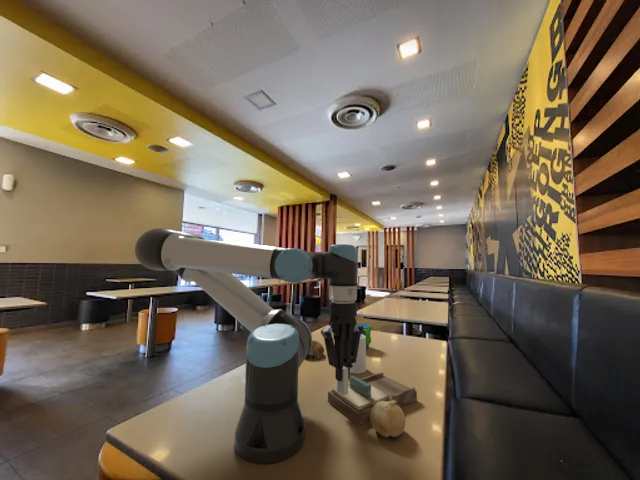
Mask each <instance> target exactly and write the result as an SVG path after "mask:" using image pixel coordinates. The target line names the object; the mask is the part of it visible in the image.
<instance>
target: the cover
mask: <svg viewBox="0 0 640 480" xmlns="http://www.w3.org/2000/svg"><path fill="white" fill-rule="evenodd" d="M331 391H332V392H333V393H334V394H336V395H337V396H339V397H340V398H342V399H343V400H344V401H346V402H347V403H349V404H350V405H352V406H353V407H354V408H356V409H357V410H360V409H363V408H366V407H368V406H371V405H373V404H376V403H378V402H381V401H384V400H387V399H389V395H388V394H386V393H384V392H382V391H380V390H379V389H377V388H375V387H373V386H371V385H370V384H368V383H366V382H364V381H363V380H361V378H359V377H357V376H355V375H350V378H349V383H348V394H346V395H342V394H341V393H339V392H338V391H337V387H334V388H332V390H331Z"/></svg>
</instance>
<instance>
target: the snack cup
mask: <svg viewBox="0 0 640 480" xmlns="http://www.w3.org/2000/svg"><path fill="white" fill-rule="evenodd" d="M357 324H358V325H361V326H363V331H362V333H361V334H362V335H365V336H366V349H368V348H370V347H369V346H370V344H371V343H372V338H371V331H372V329H373V326H372V324H370V323H367V322H366V323H365V322H357Z"/></svg>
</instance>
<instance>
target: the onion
mask: <svg viewBox="0 0 640 480" xmlns="http://www.w3.org/2000/svg"><path fill="white" fill-rule="evenodd" d="M391 399H392V396H391ZM396 403H397V401H396V400H393V399H392V400H391V401H389V402H388V401H381V402H378V403H376V404H375V405H374V406H373V408H372V410H371V413H370V419H371V420H370V423H371V425H372V428H373V429H374V430H375V432H377V434H378V435H380V436H382V437H384V438H385V439H389V437H392V438H397V437H399V436H400V435H401V434H403V432H404V431H405V428H406V427H405V426H406V416H405V413H404V411H403V410H402V407H399V406H398V405H397V404H396Z"/></svg>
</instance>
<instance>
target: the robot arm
mask: <svg viewBox="0 0 640 480" xmlns="http://www.w3.org/2000/svg"><path fill="white" fill-rule="evenodd" d="M134 253H135V254H134V255H135V257H136V259H137V261H138V262H139V263H140V264H141V265H142V266H143V267H144V268H146V269H149V270H151V271H157V272H165V271H167V272H168V271H169V272H170V271H171V272H174V273H175V274H176V275H177V276H178V277H180V279H182V280H183V281H184V282H187V283H190V282H193V283H195V284H196V285H197V286H198V287H199V288H201V289H202V290H203V291H204V292H205V293H206V294H207V295H208V296H209V297H210V298H212V300H213V301H215V302H216V303H218V304H219V306H220V307H222V308H223V309H224V310H225V311H227V313H228V314H229V315H230V316H232V317H233V318H234V319H236V321H238V322H239V323H240V324H241V325H242V326H243V327H244V328H246V330H248V331H249V332H250V333H249V335H248V337H247V341H246V348H245V383H244V405H243V408H242V409H241V410H242V411H241V412H240V413H241V414H240V416H239V420H238V422H237V425H236V429H235V432H234V448H235V451H236V453H237V455H239V457H241V458H242V459H244V460H246V461H248V462H251V463H255V464H273V463H274V464H275V463H278V462H281V461H284V460H287V459H289V458H290V457H293V455H295V454H297V452H299V451H300V450H301V448H302V446H303V445H304V442H305V437H306V429H305V427H306V426H305V422H304V418H303V414H302V410H301V408H300V404H299V401H298V397H299V395H298V393H299V391H298V390H299V369H300V368H301V366H302V364H303V362H304V360H305V359H306V356H307V355H308V354H309V351H310V348H311V344H312V340H313V336H312V330H311V329H310V327H309V326H308V324H307V323H306V322H305V321H303V320H302V319H300V318H297V317H292V316H291V315H289V314H288V313H287V312H286V311H285V310H284V309H281V308H279V309H274V308H273V307H271V306H270V305H269V304H268V303H267V302H266V301H264V300H263V299H262V298H261V297H260V296H258V295H257V294H256V293H255V292H254V291H252V289H251V288H249V287H248V286H247V285H246V284H245V283H243V282H242V281H241V280H240V279H239V278H238V277H236V276H235V275H242V276H249V277H259V278H266V279H267V278H268V279H276V280H279V281H280V280H281V281H282V280H283V281H285V282H287V283H293V284H294V283H295V284H298V283H301V282H303V281H305V280H308V279H309V280H319V279H320V280H329V282H328V283H329V287H328V288H329V289H328V299H329V300H330V302H329V303H328V315H329V321H328V326H327V327H326V328H323V329H321V331H320V333H321V335H322V337H323V340H324V345H325V350H326V351H325V352H326V356H327V360H328V361H327V362H328V365H330V366H331V367H332V368H335V370H334V371H335V374H334V375H335V380H336V382H337V383H336V386H337V387H336V388H337V391H338V392H339V393H341V394H342V395H346V394H348V384H349V380H350V377H351V373H350V368H352V367H353V365H352V363H355V362H356V359H357V353H358V347H359V341H360V336H361V333H362V331H363V326H361V325H358V324H357V323H358V322H357V319H356V317H357V316H358V304H357V302H356V301H357V298H358V283H357V282H358V281H357V280H358V257H357V255H358V254H357V247H356V246H355V245H353V244H340V243H339V244H331V245H330V246H329V249H328V251H320V252H319V251H308V250H307V251H306V250H304V249H302V248H298V247H289V248H288V247H278V246H270V245H260V244H252V243H242V242H241V243H240V242H232V241H224V240H222V241H221V240H213V239H206V238H205V237H203V236H201V235H199V234H196V233H194V232H187V231H186V232H185V231H180V230H179V231H178V230H174V229H170V228H163V227H161V228H159V227H158V228H152V229H150V230H147V231H146V232H144V233H143V234H141V236H139V237H138V239H137V241H136V243H135V246H134Z"/></svg>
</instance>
